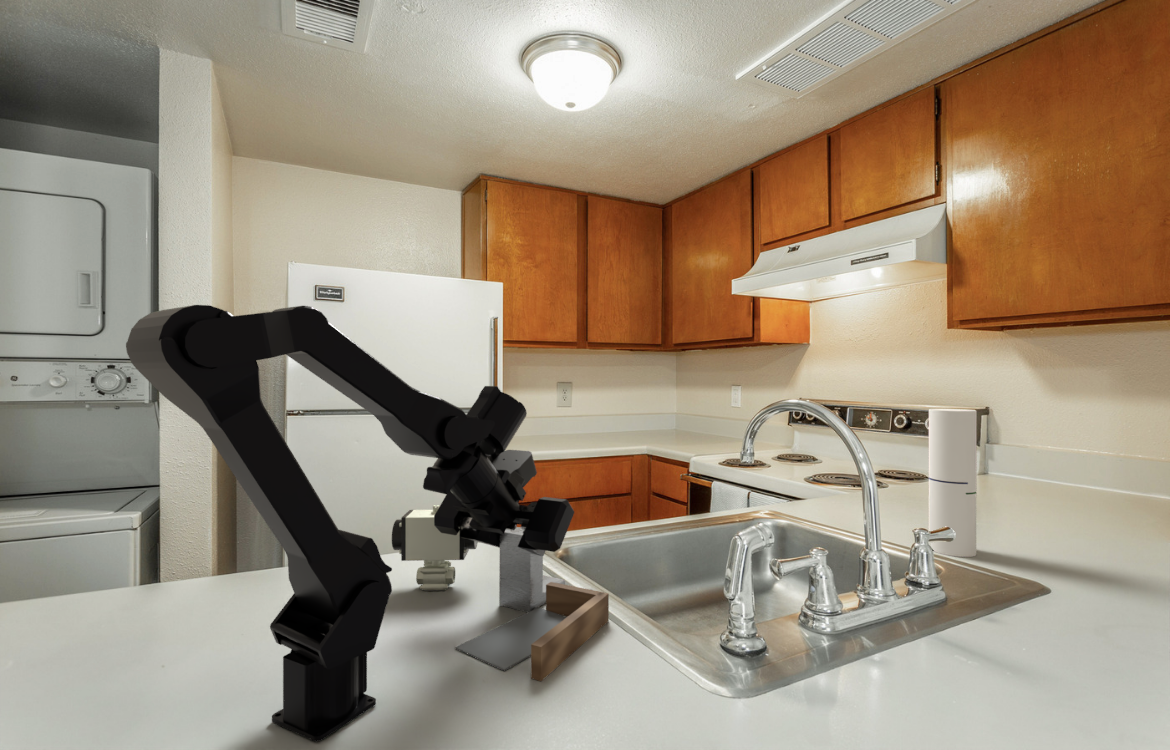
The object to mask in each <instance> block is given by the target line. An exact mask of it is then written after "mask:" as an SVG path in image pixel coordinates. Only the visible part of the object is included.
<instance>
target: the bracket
mask: <svg viewBox="0 0 1170 750" xmlns="http://www.w3.org/2000/svg"><path fill="white" fill-rule="evenodd" d="M523 531H524V530H523V529H522V528H521V526H520V527H518V526H516V528H515V530H505V532H504V534H502V533H500V548H499V580H498V581H499V582H498V583H499V587H498V588H499V589H498V590H499V591H498V593H499V594H498V595H499V596H498V598H499V601H498V602H499V603H498V604H499V606H501V607H506V608H508V609H513V610H518V611H521V612H525V613H528V612H530V611H532V610H534V609H536V608H538V607H539V608H541V606H542V605H544V604H546V585H547V584H548V583H550V582H554V583H559V584H564V585H566V580H565V579H562V578H557V577H554V576H549V575H544V574H543V573H544V569H543V568H544V567H543V566H544V559H543V558H544V556H540V555H537V554H534V553H532V552H529V551H527V550H524V549H521V548H519V547H518V544H519V542H520V540H521V537H522V535H523Z"/></svg>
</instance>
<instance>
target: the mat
mask: <svg viewBox="0 0 1170 750" xmlns="http://www.w3.org/2000/svg"><path fill="white" fill-rule="evenodd" d="M567 617H568V616H565V615H560V614H557V613H554V612H551V611H548V610H546V608H545V609H544V608H541V607H538V608H536V609H534V610H532V611H530V612H525V613H523V614H521V615H519V616H517V617H515V618H513V619H511V620H509V621H507V622H505V623H503V624H500V625H498V626H497V627H495V628H492V629H490V630H487V631H486V632H484V633H482V634H480V635H477V636H476V637H473V638H471V639H469V640H467V641H465V642H463V643H461V644H459V645H457V646H454V648H456V649H455V650H457V649H458V650H457V651H459V650H460V652H461V651H463V652H465V653H464V654H466V653H468V654H469V655H468V654H467V655H468V656H470V655H471V657H472V656H474V657H476V658H475V659H477V658H478V659H477V660H479V661H481V660H482V661H481V662H483V661H484V662H483V663H485V662H486V663H485V664H488V663H489V664H488V665H490V664H491V665H490V666H492V665H493V667H494V666H495V667H494V668H496V667H498V668H497V669H499V668H500V669H499V670H501V669H502V670H501V671H503V670H504V672H505V670H506V671H507V669H508V670H509V669H511V668H513V667H515V666H517V665H518V664H520V663H521V662H523V661H525V660H527V659H529V658H531V644H533V643H534V642H535V641H536V640H538V639H539V638H540V637H542V636H543V635H544V634H546V633H547V632H548V631H550V630H551V629H552V628H554V627H555V626H556V625H557V624H559V623H560V622H561V621H563V620H564V619H565V618H567ZM463 652H462V653H463ZM474 657H473V658H474Z"/></svg>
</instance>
